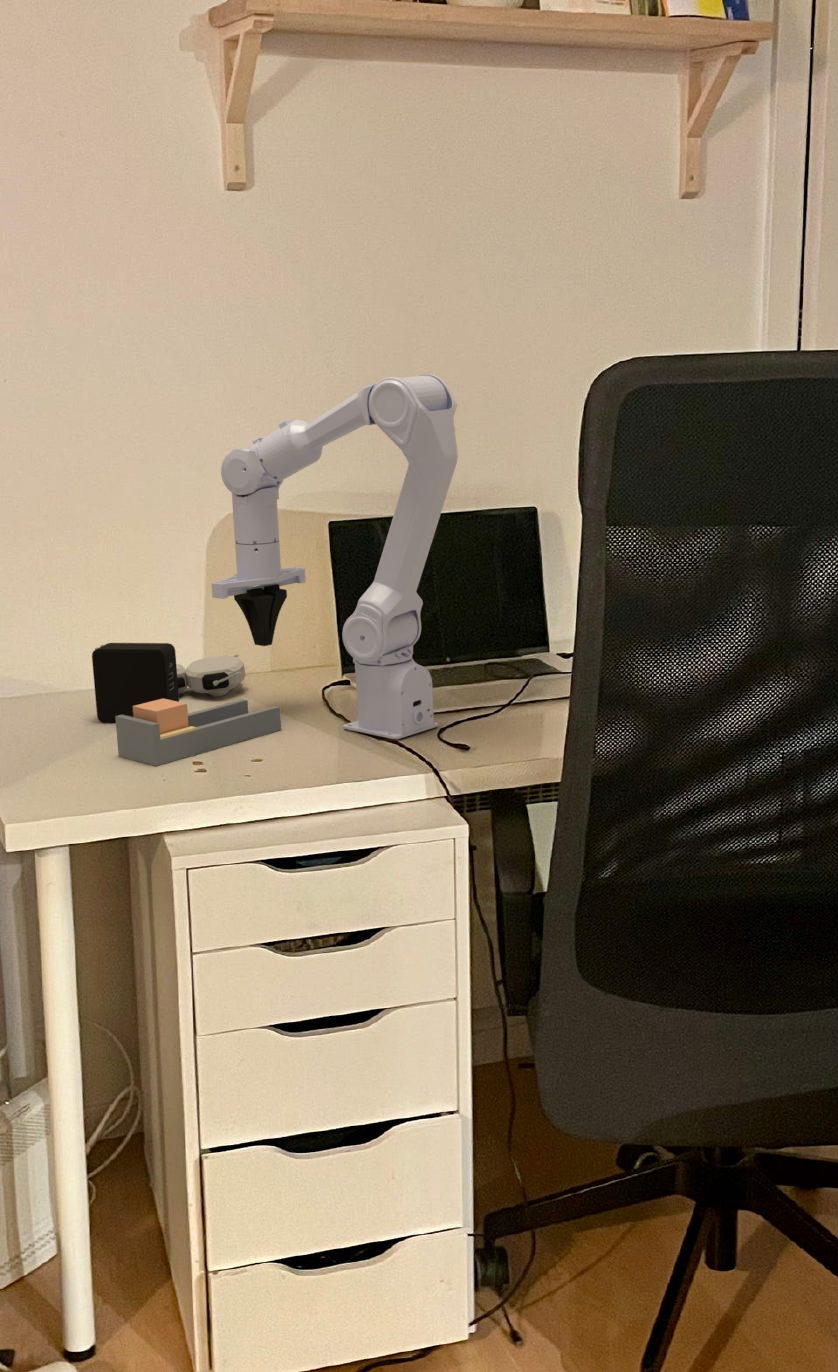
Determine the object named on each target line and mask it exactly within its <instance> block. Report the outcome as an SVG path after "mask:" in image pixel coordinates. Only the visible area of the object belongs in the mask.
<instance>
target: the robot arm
mask: <svg viewBox="0 0 838 1372" xmlns="http://www.w3.org/2000/svg"><path fill="white" fill-rule="evenodd" d="M457 407H458V402H457V401H456V400H455V397H454V396H453V394H452V392H451V390H450V388H449V387H448V385H447V383H446V382H445V381H444V380H443V379H442V378H440V377H439V376H437V375H434V374H431V373H425V374H419V375H416V376H407V377H395V376H390V377H384V378H382V379H381V380H379V381H377V383H375V384H370V385H367V386H364V387H363V388H362V389H360V390H359V391H357V392H356V393H354V394H353V395H350V397H348V398H346V399H345V400H343V401H341V402H340V403H339V404H337V405H336V406H334V407H333V408H331V409H329V410H328V411H326V412H325V413H323V414H322V415H320V416H318V417H317V418H315V419H314V420H313V421H310V422H307V421H305V420H302V419H295V420H293V418H290V419H285V420H283V421H281V422H279V423H278V427H279V429H277V430H275V431H274V432H272V433H271V434H268V435H266V436H265V437H262V436H259V437H256V438H254V439H253V440H252V445H251V446H250V447H249V448H233V449H231V451H230V452H229V453H228V454H227V455H226V456H225V457H224V458H223V461H222V463H221V466H220V467H221V468H220V475H221V480H222V482H223V484H224V486H225V487H226V489H227V490H228V491H229V492H231V497H232V498H231V501H232V517H233V518H232V520H233V532H234V534H233V535H234V547H235V563H236V573H234V576H231V577H228V578H225V579H222V580H219V581H215V582H211V596H212V598H213V599H221V600H224V599H228V598H229V597H232V596H233V599H234V601H235V602H236V603H237V605H238V607H239V609H241V612H242V613H243V615H244V618H245V620H246V622H247V624H248V628H249V630H250V633H251V636H252V640H253V643H254V645H255V646H260V647H266V646H267V647H268V646H271V645H273V640H274V635H275V629H276V625H277V622H278V618H279V614H280V611H281V609H282V607H283V605H284V603H285V602H286V599H287V597H288V591H287V589H284V588H283V589H282V588H280V587H283V586H284V587H285V586H287V585H288V586H289V585H294V584H304V583H306V568H305V567H298V566H297V567H296V566H294V567H287V568H282V564H281V563H282V562H281V550H280V549H281V546H280V531H279V513H278V500H279V499H280V494H279V493H280V492H279V490H280V487H281V485H282V484H283V482H284V480H286V479H288V478H289V477H291V476H293V475H294V474H296V473H298V472H300V471H302V470H303V469H305V468H307V467H309V466H310V465H312V464H315V463H317V462H318V461H319V460H320V458H321V457H322V454H323V447H325V446H326V445H328V444H330V443H332V442H335V441H336V440H338V439H340V438H343V437H344V436H346V435H349V434H350V433H352V432H354V431H357V430H358V429H360V428H363V427H364V426H374V425H376V426H377V427H378V428H379V429H380V430H381V431H382V432H383V433H384V434H385V435H386V436H387V437H388V438H389V439H390V440H391V441H392V442H393V443H394V444H395V446H397V447H398V448H399V450H401V452H402V453H403V456H404V457H405V459H406V460H407V463H408V465H407V470H406V473H405V477H404V479H403V483H402V487H401V489H400V493H399V496H398V501H397V503H396V507H395V510H394V514H393V516H392V519H391V524H390V525H389V530H388V533H387V536H386V540H385V543H384V546H383V550H382V552H381V556H380V559H379V563H378V565H377V570H376V572H375V575H374V580H373V581H372V583H371V584H370V586H369V587H368V588H367V589H366V591H365V592H364V593H362V595H361V596H360V598H359V599H358V601H357V604H356V608H355V610H354V611H353V613H352V614H351V615H350V616H349V617H348V618H347V619H346V620H345V622H344V624H343V627H342V633H341V635H342V636H341V637H342V642H343V646H344V647H345V650H346V651H347V653H348V654H349V655H350V657H352V663H353V664H354V670H355V671H354V672H355V674H354V675H355V689H356V691H355V693H356V696H355V697H356V711H357V717H356V718H357V720H354V721H351V722H348V723H345V724H343V725H342V727H343V729H345V730H348V731H354V732H360V733H363V734H368V735H372V736H376V737H383V738H385V739H386V738H387V739H392V740H401V739H403V738H406V737H408V736H412V735H415V734H419V733H422V732H425V731H428V730H431V729H434V728H437V727H439V723H438V722H436V721H435V720H434V699H433V698H434V694H433V691H434V690H433V679H432V675H431V673H430V671H429V670H428V669H427V668H426V667H425V666H422V665H420V664H418V663H417V662H416V661H415V660H414V659H413V654H414V645H415V644H416V643H417V642H418V640H419V639H420V636H421V634H422V633H421V632H422V621H421V620H422V619H421V611H422V608H423V605H424V602H423V599H422V598H421V597H420V595H419V594H418V592H417V590H418V588H419V584H420V581H421V578H422V574H423V571H424V568H425V565H426V562H427V558H428V557H429V556H428V555H429V552H430V550H431V549H430V548H431V546H432V543H433V540H434V537H435V533H436V531H437V530H436V529H437V526H438V523H439V520H440V517H441V514H442V511H443V508H444V505H445V501H446V498H447V495H448V492H449V488H450V485H451V483H452V479H453V475H454V472H455V469H456V467H457V462H458V457H459V456H458V447H457V445H458V444H457V438H456V430H455V429H456V428H455V421H454V416H455V413H456V411H457Z"/></svg>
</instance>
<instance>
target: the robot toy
mask: <svg viewBox="0 0 838 1372" xmlns="http://www.w3.org/2000/svg"><path fill="white" fill-rule="evenodd" d="M239 656H240V654H238V653H237V654H234V655H220V656H219V655H217V656H212V657H205V658H199V659H197V660H193V661H192V662H191V663H190V664H189V665H188V666H187V667H186V668H185V667H184V666H183V665H182V664H180V663H179V664H176V667H177V680H178V693H179V694H184V693H185V691H186V690H187V689H190V690H192V691H193V692H196V693H201V694H205V693H207V694H208V695H210V696H212V697H216V698H217V697H223V696H225V695H226V694H228V692H229V691H231V689H234V688H237V687H238V686H240V685H241V684H242V682H244V680H245V678H246V676H247V675H246V668H245V664H244V662H243V661H242V660H241V659H239V658H238V657H239Z"/></svg>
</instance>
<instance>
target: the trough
mask: <svg viewBox="0 0 838 1372" xmlns="http://www.w3.org/2000/svg"><path fill="white" fill-rule="evenodd" d="M248 703H249V702H248V700H247V699H238V700H234V701H231V702H226V703H224V704H220V705H219V704H218V705H216V706H213V707H212V706H211V707H209V708H204V709H201V710H196V711H192V712H188V725H189V727H186V728H183V729H179V730H175V731H172V732H168V733H164V734H161V735H160V727H159V723H155V722H151V721H147V720H143V719H139V718H134V717H130V716H126V715H119V716H115V719H116V724H115V728H116V729H115V730H116V740H117V743H116V744H117V751H118V752H117V753H118V757H119V758H124V759H128V760H131V761H135V762H138V763H142V764H147V765H150V766H154V767H157V766H161V765H164V764H168V763H171V762H175V761H178V760H182V759H184V758H188V757H193V756H196V755H199V754H202V753H207V752H210V751H214V750H217V749H220V748H224V747H227V746H230V745H233V744H237V743H241V742H244V741H248V740H251V739H255V738H258V737H261V736H262V737H263V736H264V735H268V734H272V733H274V732H275V733H276V732H278V731H281V730H282V721H281V720H282V719H281V707H280V706H276V705H274V706H269V707H266V708H262V709H258V710H255V711H251V712H249V704H248Z"/></svg>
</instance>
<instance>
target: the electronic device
mask: <svg viewBox="0 0 838 1372" xmlns="http://www.w3.org/2000/svg"><path fill="white" fill-rule="evenodd" d="M91 662H92V663H91V664H92V670H93V671H92V673H93V683H94V686H93V687H94V693H95V694H94V696H95V706H96V707H95V708H96V717H97V720H98V721H99V722H100V723H102V724H108V725H109V724H111V725H112V724H113V725H114V724H115V725H116V719H115V716H119V715H126V716H130V717H133V706H135V705H139V704H143V703H147V702H151V701H155V700H159V699H168V700H172V701H177V702H180V697H179V696H180V695H179V693H178V680H177V667H176V665H177V655H176V649H175V646H174V645H173V644H172V643H169V642H168V643H167V642H165V643H164V642H108V643H105V644H101V645H99V647H95V648H94V650H93V651H92V653H91Z"/></svg>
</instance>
